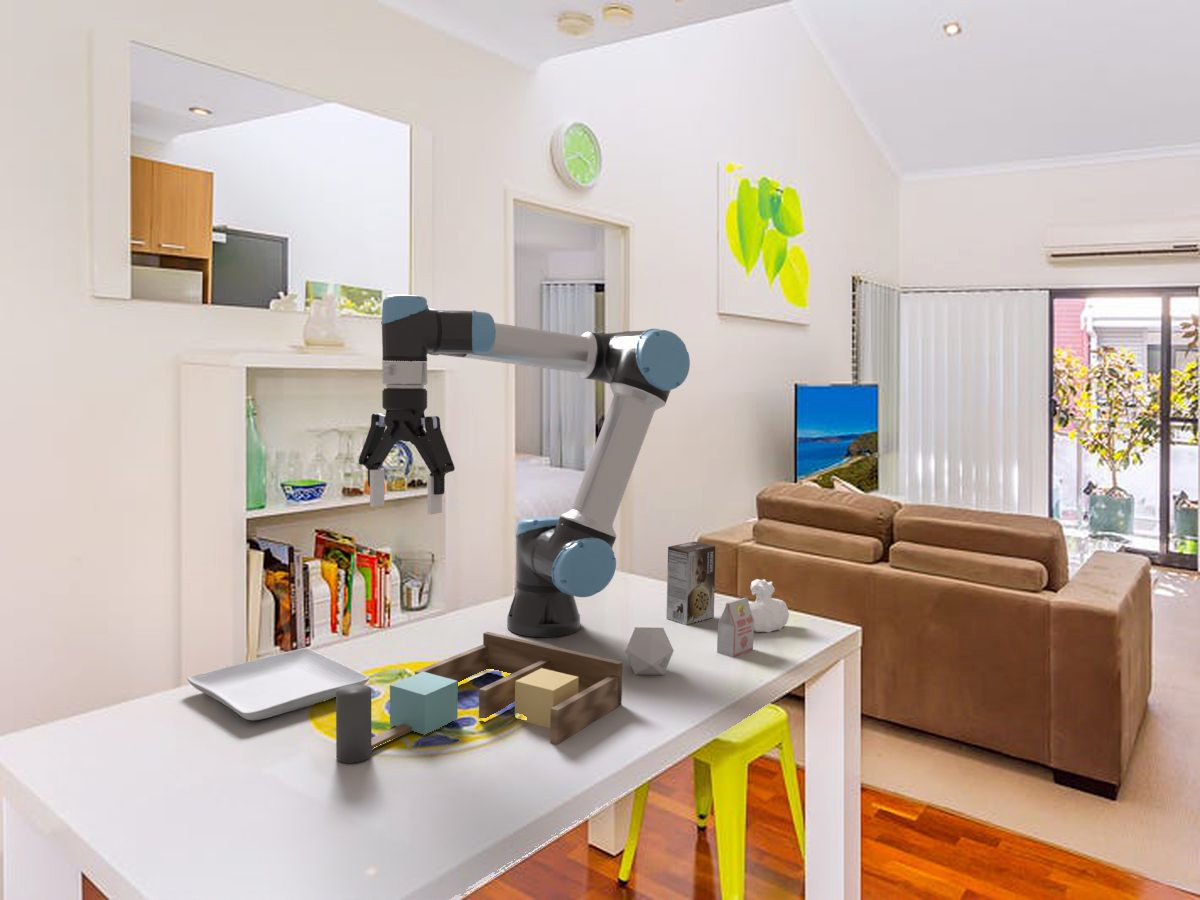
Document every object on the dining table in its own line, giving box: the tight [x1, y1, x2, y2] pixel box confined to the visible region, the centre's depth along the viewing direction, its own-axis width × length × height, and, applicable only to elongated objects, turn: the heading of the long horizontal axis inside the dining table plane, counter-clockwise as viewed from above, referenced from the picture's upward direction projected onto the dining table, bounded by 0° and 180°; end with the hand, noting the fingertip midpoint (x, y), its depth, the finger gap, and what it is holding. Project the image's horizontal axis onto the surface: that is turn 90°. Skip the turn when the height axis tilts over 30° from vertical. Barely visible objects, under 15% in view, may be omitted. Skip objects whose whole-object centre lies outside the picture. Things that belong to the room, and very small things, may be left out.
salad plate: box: [187, 647, 370, 721], centre depth 138 cm, size 21×21×3 cm
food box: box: [665, 541, 716, 625], centre depth 186 cm, size 9×6×16 cm
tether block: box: [335, 672, 459, 763], centre depth 122 cm, size 19×7×9 cm, turn 148°
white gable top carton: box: [716, 597, 755, 658], centre depth 164 cm, size 4×7×10 cm, turn 137°
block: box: [514, 668, 579, 729], centre depth 131 cm, size 7×7×6 cm
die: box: [625, 626, 675, 676], centre depth 152 cm, size 8×9×10 cm
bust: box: [749, 578, 790, 633], centre depth 181 cm, size 12×8×11 cm
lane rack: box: [414, 631, 623, 745], centre depth 136 cm, size 18×28×7 cm, turn 58°
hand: (405, 509), depth 148 cm, fingers open, 13 cm apart
